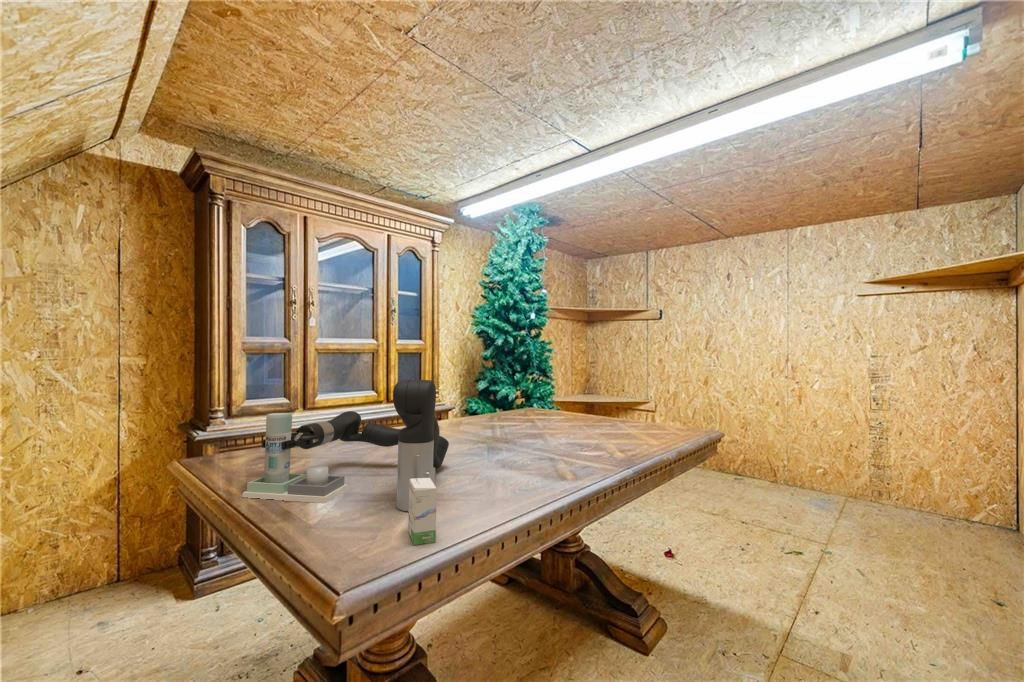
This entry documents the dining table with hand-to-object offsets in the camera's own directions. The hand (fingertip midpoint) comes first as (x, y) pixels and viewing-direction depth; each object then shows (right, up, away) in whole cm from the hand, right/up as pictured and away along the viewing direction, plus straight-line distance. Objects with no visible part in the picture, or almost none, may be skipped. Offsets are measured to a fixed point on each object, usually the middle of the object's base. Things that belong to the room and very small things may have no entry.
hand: (272, 445), depth 121 cm
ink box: (+47, -14, -26) cm, 56 cm away
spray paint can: (0, -12, +1) cm, 12 cm away
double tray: (+6, -14, +1) cm, 15 cm away
